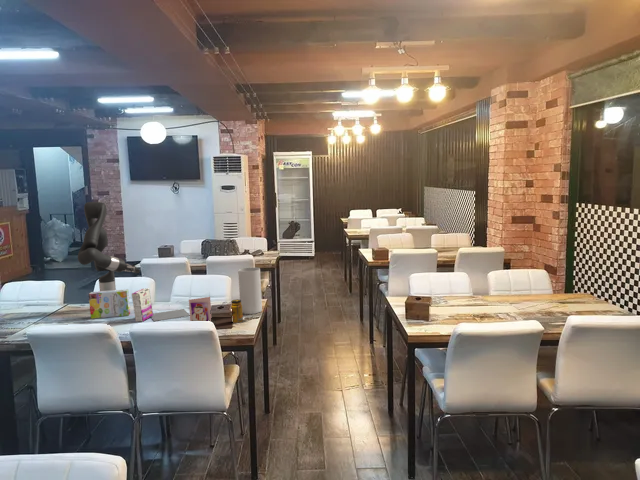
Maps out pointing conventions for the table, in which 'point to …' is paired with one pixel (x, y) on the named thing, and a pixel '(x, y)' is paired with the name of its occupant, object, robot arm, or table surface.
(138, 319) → the candy bar box
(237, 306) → the condiment
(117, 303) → the snack box
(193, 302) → the greeting card
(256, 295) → the cylinder vase
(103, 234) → the robot arm
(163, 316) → the mat
